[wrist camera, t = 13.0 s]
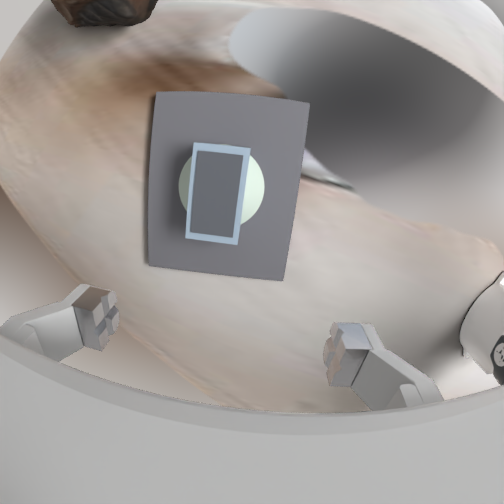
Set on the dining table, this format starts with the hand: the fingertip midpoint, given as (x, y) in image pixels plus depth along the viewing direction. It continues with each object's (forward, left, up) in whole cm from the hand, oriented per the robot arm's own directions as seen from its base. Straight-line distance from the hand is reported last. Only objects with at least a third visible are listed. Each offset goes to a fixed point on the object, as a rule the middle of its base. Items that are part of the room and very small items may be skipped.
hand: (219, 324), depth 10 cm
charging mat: (+2, -1, -22) cm, 22 cm away
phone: (+2, -1, -21) cm, 21 cm away
